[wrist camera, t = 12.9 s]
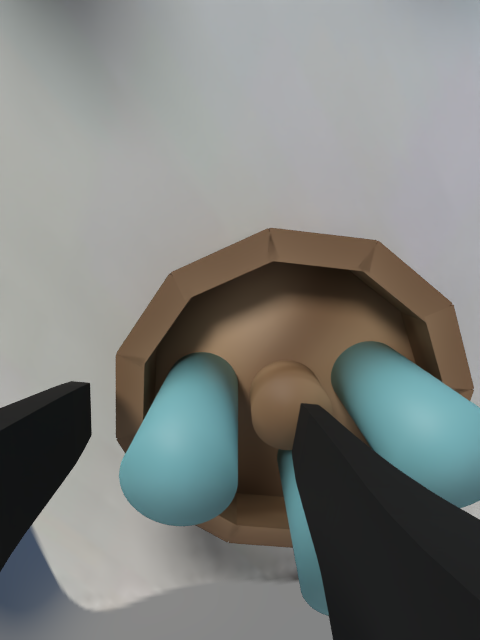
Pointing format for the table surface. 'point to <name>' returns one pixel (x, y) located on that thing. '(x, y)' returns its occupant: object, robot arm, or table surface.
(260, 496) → the groove tray
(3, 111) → the table surface
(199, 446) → the teal egg
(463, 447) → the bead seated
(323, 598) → the teal tapered egg
